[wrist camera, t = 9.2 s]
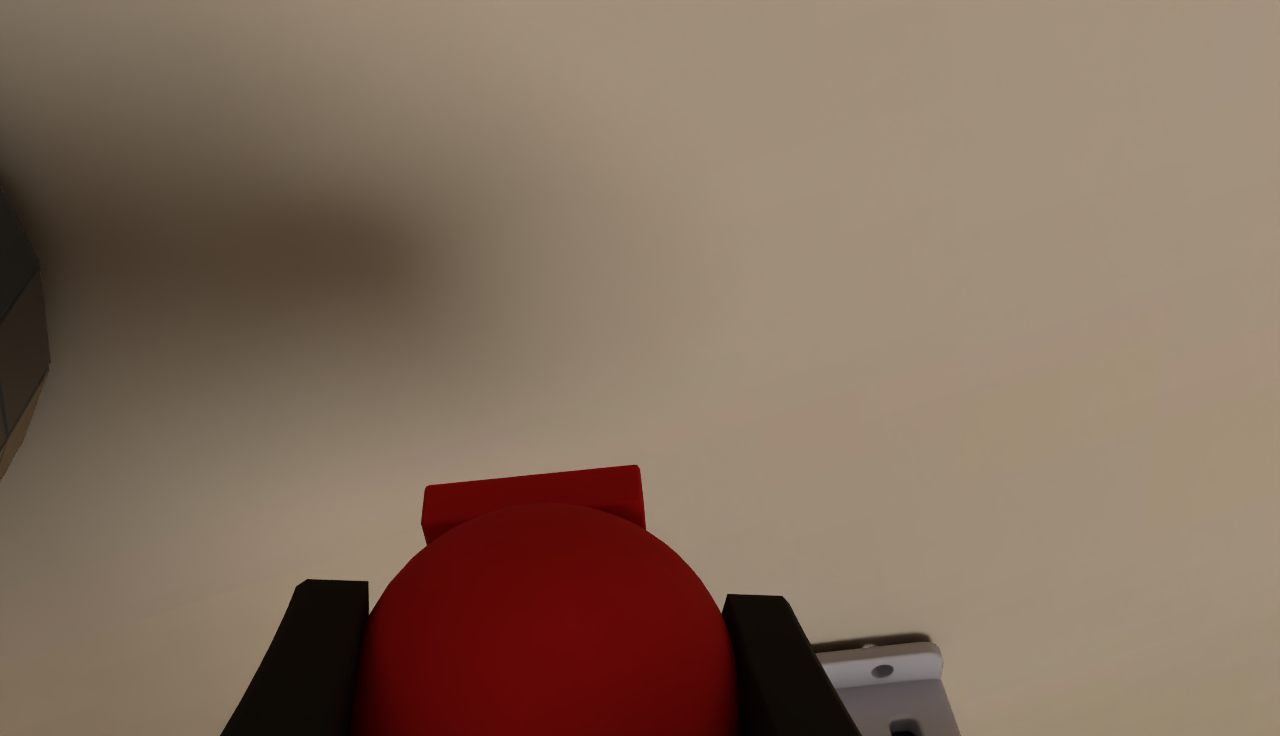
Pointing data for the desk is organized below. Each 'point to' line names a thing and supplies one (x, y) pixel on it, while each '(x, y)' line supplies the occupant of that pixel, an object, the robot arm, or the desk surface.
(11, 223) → the bowl
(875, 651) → the robot arm
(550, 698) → the strawberry
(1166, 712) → the desk surface
